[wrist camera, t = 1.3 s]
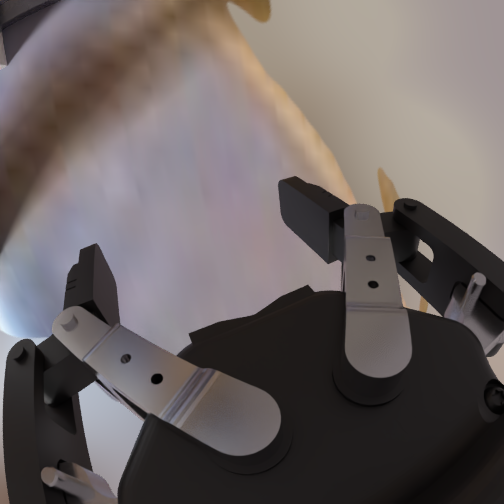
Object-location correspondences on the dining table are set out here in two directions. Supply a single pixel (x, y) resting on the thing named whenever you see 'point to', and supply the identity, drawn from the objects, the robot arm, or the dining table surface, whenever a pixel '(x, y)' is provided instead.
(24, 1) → the rail
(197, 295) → the dining table surface
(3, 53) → the cabinet
